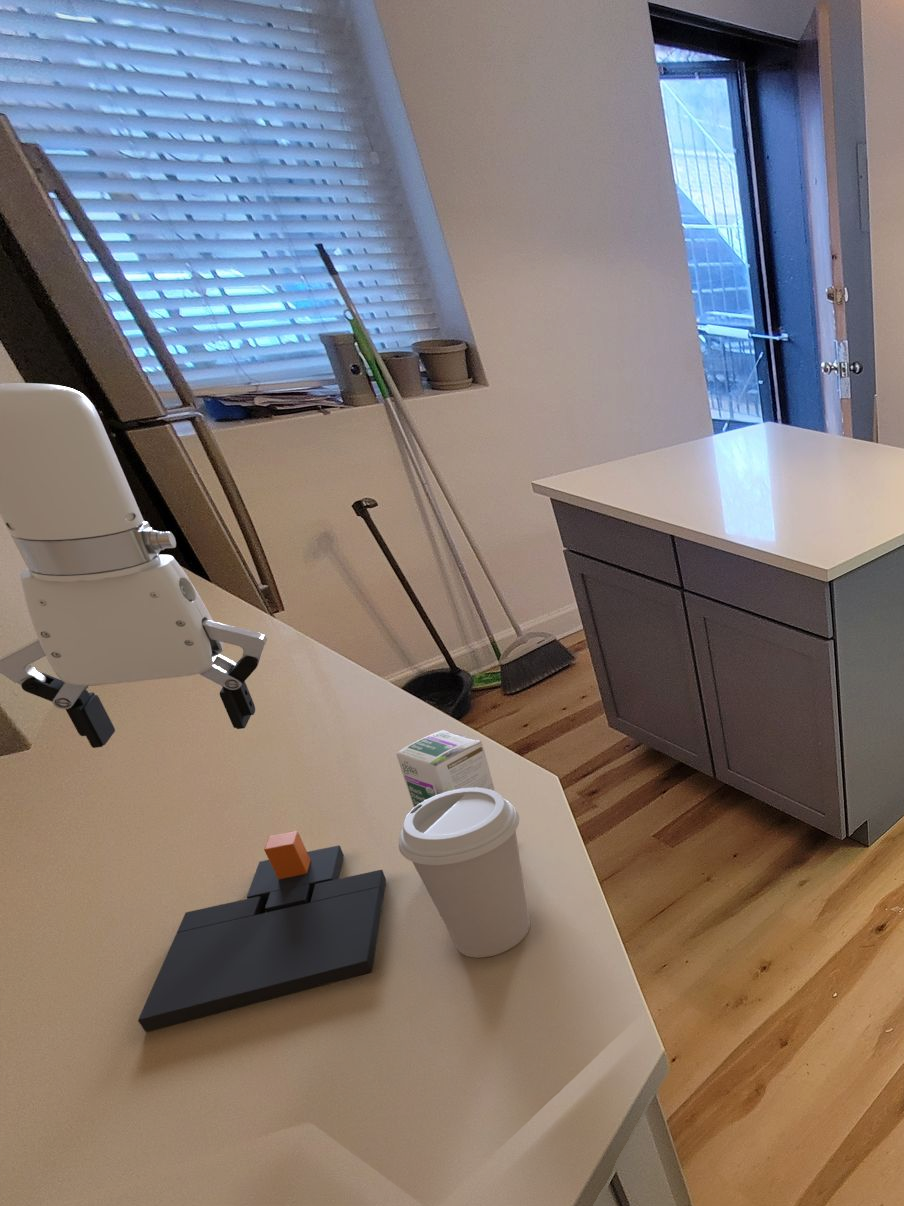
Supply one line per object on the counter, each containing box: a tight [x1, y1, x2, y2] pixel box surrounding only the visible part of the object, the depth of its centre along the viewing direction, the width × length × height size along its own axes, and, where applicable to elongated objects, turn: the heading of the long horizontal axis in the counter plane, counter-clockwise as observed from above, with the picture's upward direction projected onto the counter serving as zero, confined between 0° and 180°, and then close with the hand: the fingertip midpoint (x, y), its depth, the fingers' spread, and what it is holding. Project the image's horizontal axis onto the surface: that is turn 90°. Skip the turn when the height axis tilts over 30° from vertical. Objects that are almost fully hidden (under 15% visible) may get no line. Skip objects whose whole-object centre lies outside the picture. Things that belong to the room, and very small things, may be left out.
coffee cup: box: [398, 788, 531, 959], centre depth 75 cm, size 10×10×15 cm
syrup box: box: [395, 729, 496, 808], centre depth 84 cm, size 6×6×14 cm
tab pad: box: [246, 830, 345, 913], centre depth 81 cm, size 7×9×6 cm
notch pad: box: [137, 869, 387, 1033], centre depth 75 cm, size 16×14×2 cm
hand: (176, 730), depth 72 cm, fingers open, 9 cm apart
